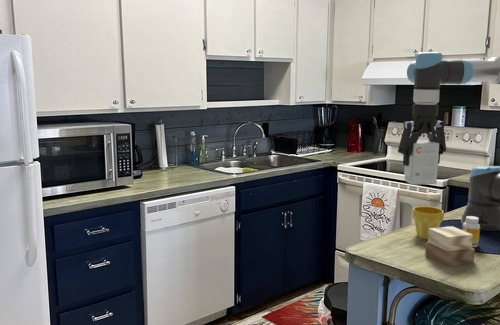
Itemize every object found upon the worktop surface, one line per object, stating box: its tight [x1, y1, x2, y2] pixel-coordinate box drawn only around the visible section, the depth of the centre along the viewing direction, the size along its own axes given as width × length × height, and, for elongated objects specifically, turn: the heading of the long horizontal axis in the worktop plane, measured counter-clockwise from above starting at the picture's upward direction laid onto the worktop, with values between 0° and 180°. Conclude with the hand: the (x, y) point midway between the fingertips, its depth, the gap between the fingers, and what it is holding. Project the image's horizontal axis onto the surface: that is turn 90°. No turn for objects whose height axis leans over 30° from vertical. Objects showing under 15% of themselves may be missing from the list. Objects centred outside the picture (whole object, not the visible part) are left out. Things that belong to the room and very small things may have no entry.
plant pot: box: [412, 205, 445, 240], centre depth 173 cm, size 10×10×10 cm
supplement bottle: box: [461, 216, 481, 248], centre depth 165 cm, size 5×5×10 cm
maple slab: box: [427, 225, 473, 252], centre depth 152 cm, size 9×9×4 cm
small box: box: [404, 140, 439, 185], centre depth 155 cm, size 8×6×13 cm
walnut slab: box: [424, 241, 476, 267], centre depth 153 cm, size 10×10×4 cm
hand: (420, 174), depth 155 cm, fingers closed on small box, 9 cm apart
